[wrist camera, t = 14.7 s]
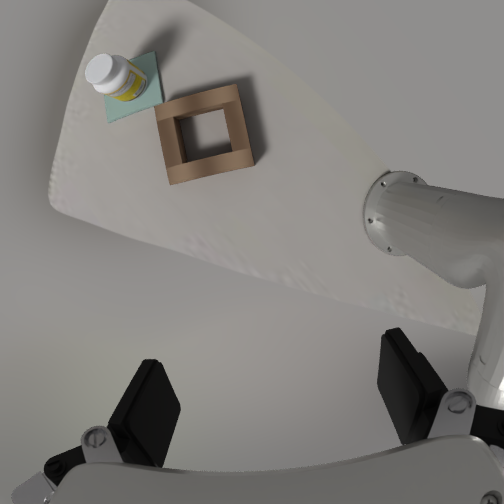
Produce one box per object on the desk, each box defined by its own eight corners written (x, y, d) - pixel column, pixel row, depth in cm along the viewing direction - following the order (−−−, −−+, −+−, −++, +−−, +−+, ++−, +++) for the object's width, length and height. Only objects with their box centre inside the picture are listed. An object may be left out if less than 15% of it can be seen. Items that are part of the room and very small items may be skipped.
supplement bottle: (114, 77, 33) (80, 58, 23) (146, 64, 32) (117, 40, 23) (117, 107, 34) (81, 94, 25) (150, 96, 34) (119, 77, 24)
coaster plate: (155, 51, 32) (154, 50, 32) (163, 103, 35) (162, 102, 34) (103, 73, 33) (101, 72, 32) (109, 123, 35) (107, 122, 35)
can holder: (238, 89, 34) (236, 83, 31) (254, 165, 37) (254, 165, 34) (161, 110, 35) (154, 106, 32) (176, 183, 38) (169, 185, 35)
